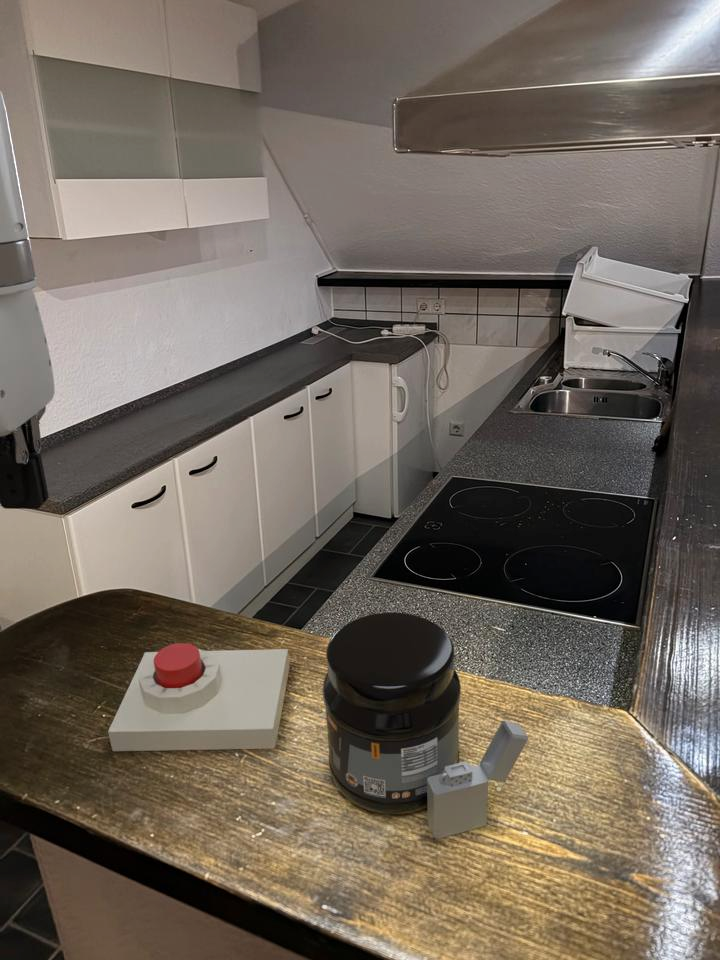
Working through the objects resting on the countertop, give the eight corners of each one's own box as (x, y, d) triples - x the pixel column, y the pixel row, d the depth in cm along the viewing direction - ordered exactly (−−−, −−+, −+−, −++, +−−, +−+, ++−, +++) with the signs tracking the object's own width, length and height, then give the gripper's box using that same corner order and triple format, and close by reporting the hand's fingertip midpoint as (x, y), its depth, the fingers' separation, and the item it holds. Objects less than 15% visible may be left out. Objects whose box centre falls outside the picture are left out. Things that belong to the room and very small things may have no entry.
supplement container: (371, 709, 68) (366, 594, 63) (480, 750, 63) (483, 629, 58) (303, 788, 60) (291, 664, 55) (422, 843, 55) (420, 711, 50)
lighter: (435, 839, 55) (434, 754, 52) (426, 821, 57) (425, 737, 54) (524, 815, 57) (529, 731, 54) (514, 798, 58) (518, 715, 55)
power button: (151, 690, 67) (148, 671, 66) (163, 661, 70) (160, 643, 69) (197, 689, 66) (193, 670, 66) (206, 660, 70) (203, 642, 69)
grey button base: (112, 751, 65) (103, 714, 63) (148, 670, 75) (141, 636, 73) (275, 749, 64) (271, 711, 63) (289, 667, 74) (286, 633, 73)
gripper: (-25, 254, 60) (19, 468, 68) (-143, 287, 47) (-72, 549, 54) (69, 254, 60) (103, 468, 68) (-23, 286, 47) (33, 550, 54)
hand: (25, 503), depth 61 cm, fingers closed
